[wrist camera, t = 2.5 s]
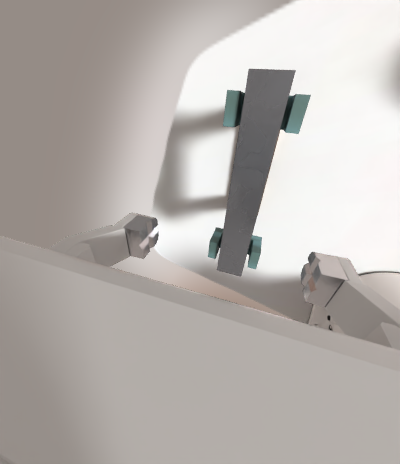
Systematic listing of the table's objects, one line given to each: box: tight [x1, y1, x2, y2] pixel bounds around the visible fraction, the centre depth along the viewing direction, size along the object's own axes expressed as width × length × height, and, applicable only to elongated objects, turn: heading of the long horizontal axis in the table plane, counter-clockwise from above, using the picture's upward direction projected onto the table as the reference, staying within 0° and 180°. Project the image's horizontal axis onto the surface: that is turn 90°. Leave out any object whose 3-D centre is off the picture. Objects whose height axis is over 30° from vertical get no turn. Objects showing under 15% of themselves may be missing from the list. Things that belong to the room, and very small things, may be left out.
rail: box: [217, 69, 296, 276], centre depth 16 cm, size 16×2×2 cm, turn 177°
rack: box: [208, 90, 311, 269], centre depth 21 cm, size 15×5×14 cm, turn 177°
